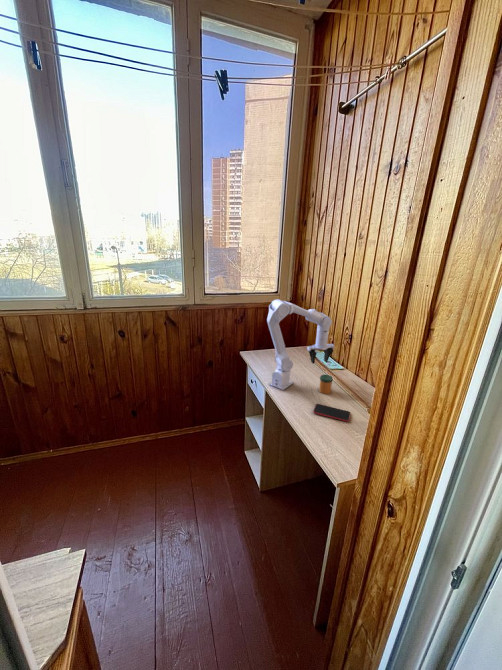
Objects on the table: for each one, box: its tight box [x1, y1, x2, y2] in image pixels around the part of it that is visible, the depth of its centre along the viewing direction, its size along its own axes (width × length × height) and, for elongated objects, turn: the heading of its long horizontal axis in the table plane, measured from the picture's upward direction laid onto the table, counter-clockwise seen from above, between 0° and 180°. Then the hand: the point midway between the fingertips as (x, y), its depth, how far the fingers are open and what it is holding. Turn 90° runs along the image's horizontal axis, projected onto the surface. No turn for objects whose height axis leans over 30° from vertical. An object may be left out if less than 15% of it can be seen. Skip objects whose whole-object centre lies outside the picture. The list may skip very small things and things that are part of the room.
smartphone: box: [312, 403, 351, 422], centre depth 128 cm, size 7×1×15 cm
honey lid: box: [319, 374, 334, 383], centre depth 144 cm, size 6×6×1 cm
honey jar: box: [318, 379, 333, 395], centre depth 145 cm, size 6×6×7 cm
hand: (319, 362), depth 154 cm, fingers open, 7 cm apart
